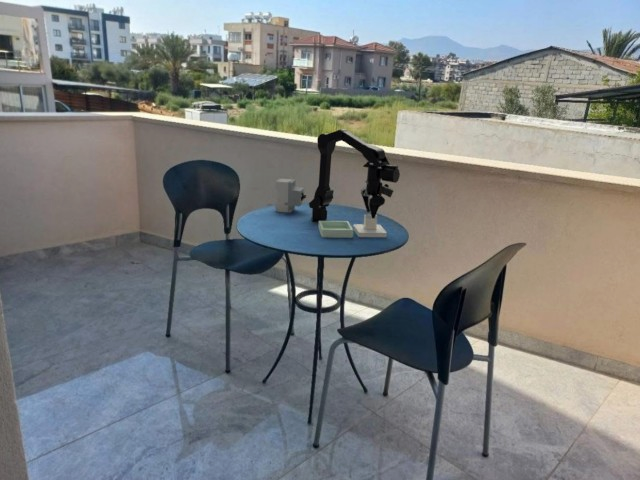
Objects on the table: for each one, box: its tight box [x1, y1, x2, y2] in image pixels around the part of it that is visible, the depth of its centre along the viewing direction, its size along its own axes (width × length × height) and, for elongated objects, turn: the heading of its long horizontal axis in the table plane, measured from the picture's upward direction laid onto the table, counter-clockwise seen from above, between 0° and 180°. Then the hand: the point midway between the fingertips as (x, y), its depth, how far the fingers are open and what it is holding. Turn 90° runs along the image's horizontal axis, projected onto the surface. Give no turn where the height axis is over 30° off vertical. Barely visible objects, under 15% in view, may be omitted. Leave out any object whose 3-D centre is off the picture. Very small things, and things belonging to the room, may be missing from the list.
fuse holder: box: [352, 223, 388, 238], centre depth 190 cm, size 12×12×2 cm
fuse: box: [363, 213, 378, 230], centre depth 189 cm, size 5×3×8 cm, turn 97°
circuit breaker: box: [274, 178, 307, 214], centre depth 217 cm, size 8×14×15 cm, turn 78°
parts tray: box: [318, 220, 355, 239], centre depth 188 cm, size 13×13×3 cm
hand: (370, 215), depth 188 cm, fingers open, 9 cm apart
